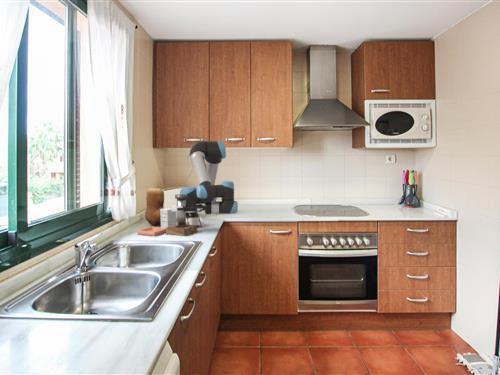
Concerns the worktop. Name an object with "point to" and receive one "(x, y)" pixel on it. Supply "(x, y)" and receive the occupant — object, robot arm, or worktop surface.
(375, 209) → the worktop surface
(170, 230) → the bore block
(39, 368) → the worktop surface
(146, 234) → the tray
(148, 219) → the butternut squash
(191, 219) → the spread jar
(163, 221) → the supplement box
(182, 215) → the metal plug
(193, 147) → the robot arm
